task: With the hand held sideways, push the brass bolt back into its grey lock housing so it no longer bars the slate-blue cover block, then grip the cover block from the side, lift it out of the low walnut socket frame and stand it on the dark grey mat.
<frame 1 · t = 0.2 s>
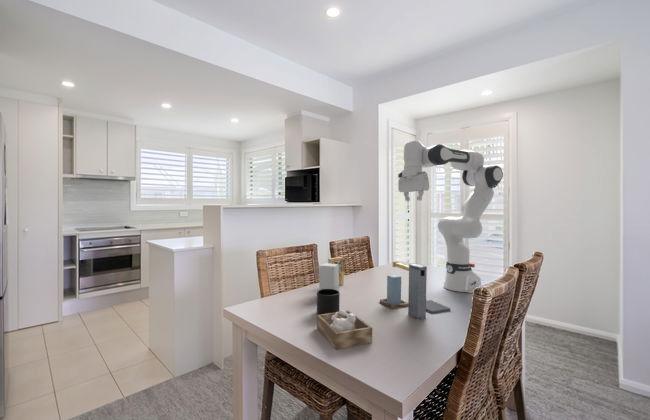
hand: (413, 200, 153), 48 cm above the table, tool pointing down, fingers open, 8 cm apart
candy box: (335, 285, 170), on the table
cover block: (393, 304, 139), resting in socket frame
mat: (431, 307, 135), on the table
rabbit figurine: (343, 336, 106), resting in display box
display box: (343, 335, 106), on the table
bolt: (404, 267, 132), point 18 cm above the table, slide at 0.0 cm
skincare box: (328, 296, 151), on the table
mug: (328, 312, 128), on the table
lock housing: (416, 316, 125), on the table
socket frame: (393, 303, 139), on the table
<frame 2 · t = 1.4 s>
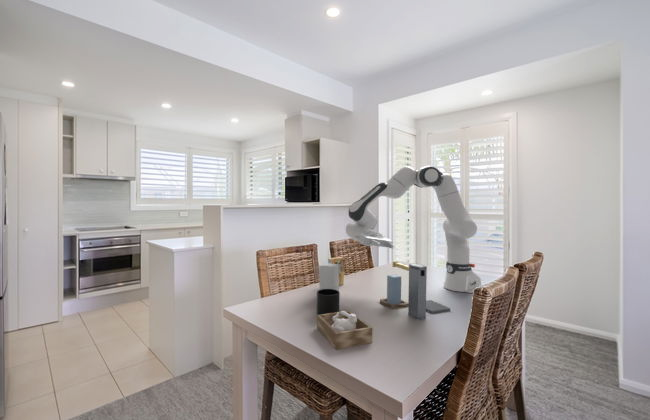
hand: (386, 246, 148), 25 cm above the table, tool horizontal, fingers open, 8 cm apart
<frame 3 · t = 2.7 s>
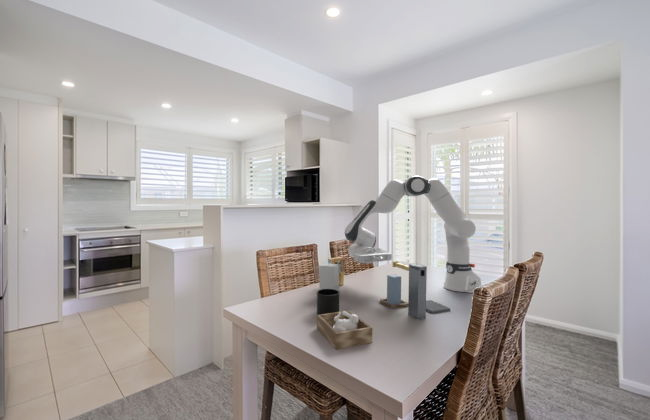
hand: (381, 259, 149), 18 cm above the table, tool horizontal, fingers closed
rabbit figurine: (346, 337, 106), resting in display box
everything else where it was.
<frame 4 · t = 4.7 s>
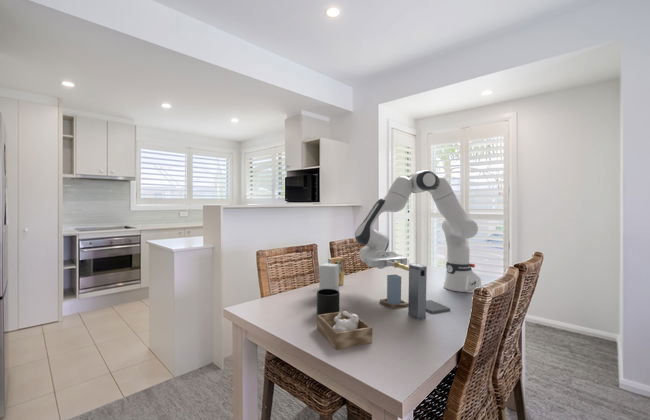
hand: (396, 264, 138), 18 cm above the table, tool horizontal, fingers closed, pressing on bolt
rabbit figurine: (347, 337, 106), resting in display box
bolt: (406, 267, 131), point 18 cm above the table, slide at 1.3 cm, touching gripper
everything else where it was.
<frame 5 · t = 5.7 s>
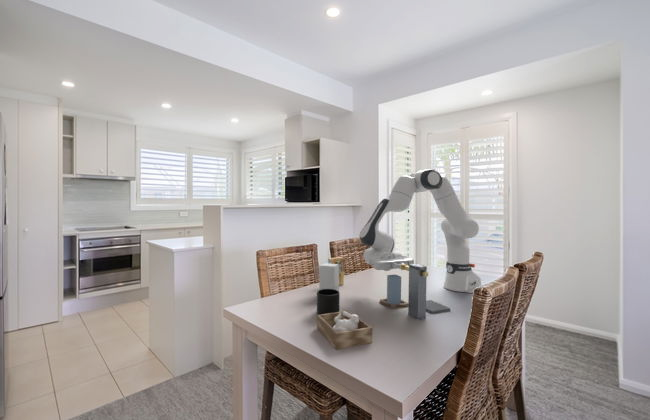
hand: (403, 267, 133), 18 cm above the table, tool horizontal, fingers closed, pressing on bolt
bolt: (414, 270, 126), point 18 cm above the table, slide at 6.4 cm, touching gripper
everything else where it was.
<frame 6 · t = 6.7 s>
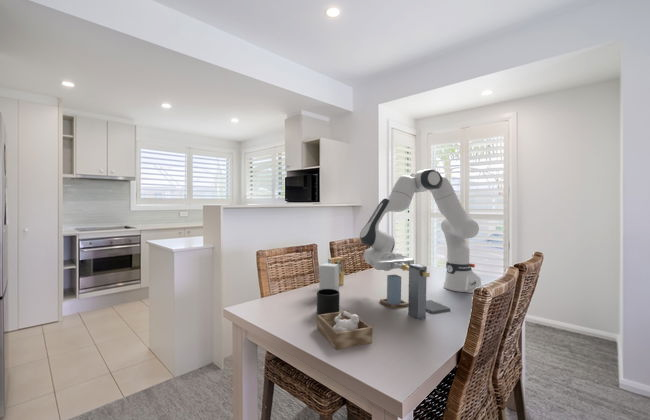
hand: (403, 266, 133), 19 cm above the table, tool horizontal, fingers closed
bolt: (415, 270, 125), point 18 cm above the table, slide at 7.2 cm
everything else where it was.
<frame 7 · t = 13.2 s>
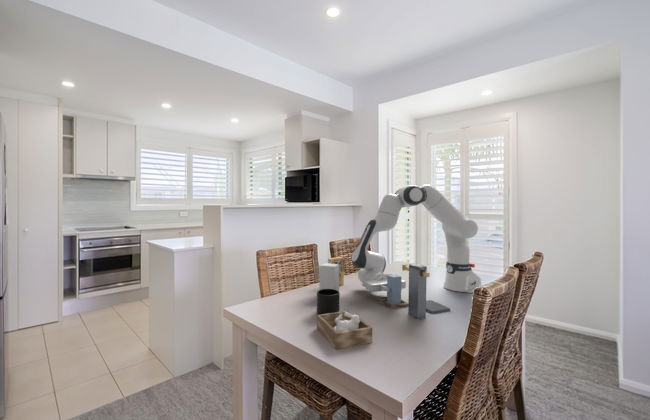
hand: (395, 289, 138), 7 cm above the table, tool horizontal, fingers closed on cover block, 4 cm apart
cover block: (393, 304, 139), resting in socket frame, touching gripper
when the fingers open (9 cm above the table, at t = 17.6 s): cover block drops 1 cm, resting on mat.
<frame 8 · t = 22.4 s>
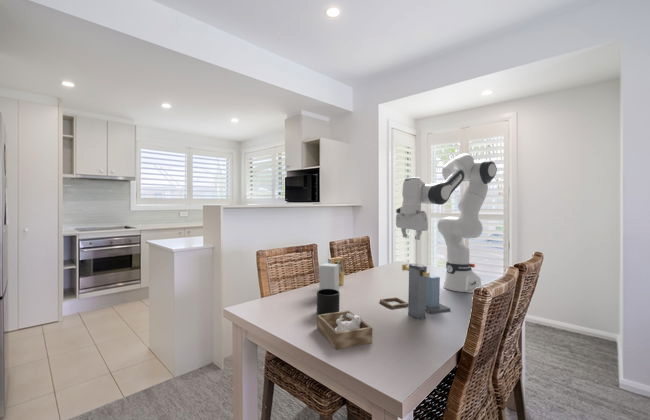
hand: (411, 238, 148), 29 cm above the table, tool pointing down, fingers open, 8 cm apart
cover block: (431, 305, 135), point 1 cm above the table, touching mat
at the end: bolt slide at 7.2 cm; cover block 0.1 cm from the mat (horizontally); cover block tilted 0° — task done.
